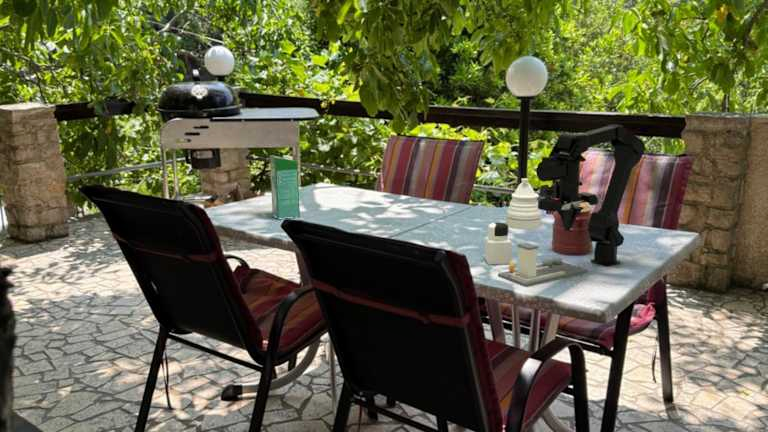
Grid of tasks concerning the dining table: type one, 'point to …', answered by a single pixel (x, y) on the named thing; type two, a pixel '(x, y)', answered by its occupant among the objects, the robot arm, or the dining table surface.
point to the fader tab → (527, 260)
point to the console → (544, 272)
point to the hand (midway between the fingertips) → (567, 230)
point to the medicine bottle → (498, 244)
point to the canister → (572, 234)
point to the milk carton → (284, 186)
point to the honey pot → (524, 208)
